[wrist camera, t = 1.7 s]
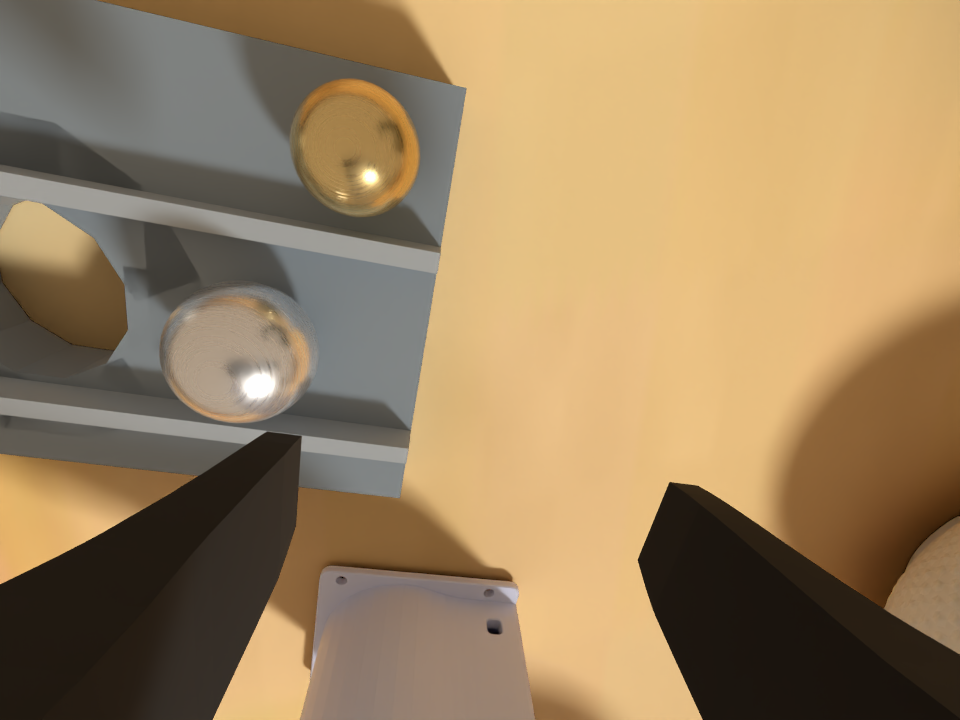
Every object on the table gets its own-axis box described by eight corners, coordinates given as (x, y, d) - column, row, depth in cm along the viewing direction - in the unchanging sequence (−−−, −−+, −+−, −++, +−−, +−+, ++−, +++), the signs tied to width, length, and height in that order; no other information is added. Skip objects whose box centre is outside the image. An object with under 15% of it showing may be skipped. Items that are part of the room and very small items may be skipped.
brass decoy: (430, 104, 13) (427, 84, 10) (414, 221, 14) (406, 234, 11) (312, 77, 13) (273, 48, 10) (305, 200, 14) (268, 208, 11)
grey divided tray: (462, 100, 15) (469, 77, 12) (404, 460, 20) (396, 525, 16) (-143, -41, 13) (-379, -127, 9) (-42, 406, 18) (-168, 467, 14)
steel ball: (337, 280, 15) (302, 317, 11) (327, 394, 16) (292, 460, 12) (202, 256, 14) (116, 287, 10) (204, 376, 16) (129, 440, 12)
